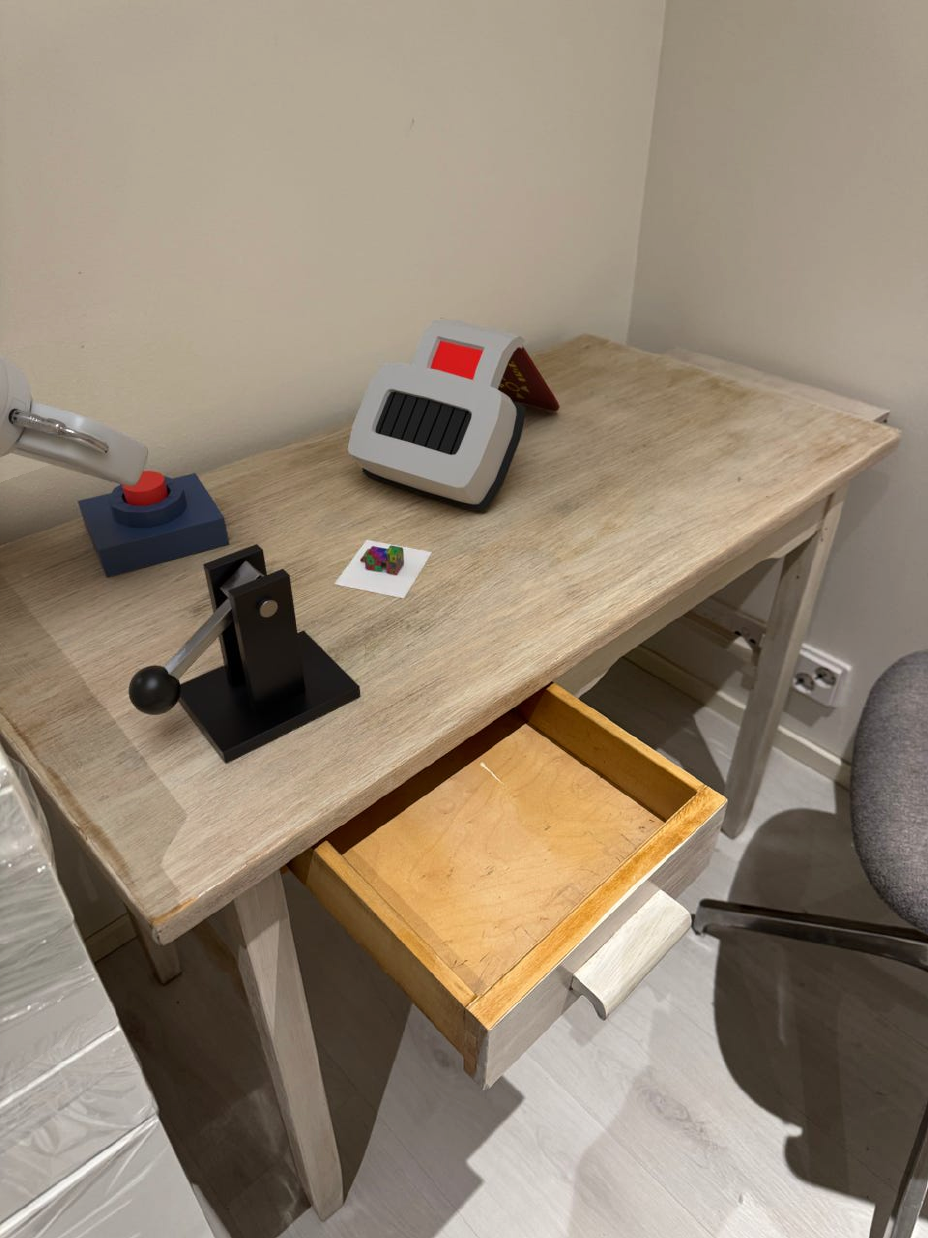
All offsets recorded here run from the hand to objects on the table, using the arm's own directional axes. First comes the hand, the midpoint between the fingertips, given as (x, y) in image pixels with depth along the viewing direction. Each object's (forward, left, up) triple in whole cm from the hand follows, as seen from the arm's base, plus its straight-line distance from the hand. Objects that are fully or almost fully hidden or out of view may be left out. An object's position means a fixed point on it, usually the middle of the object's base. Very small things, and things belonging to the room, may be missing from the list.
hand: (94, 462), depth 80 cm
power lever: (+3, -25, -5) cm, 25 cm away
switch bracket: (+6, -24, -11) cm, 28 cm away
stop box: (+4, +4, -11) cm, 13 cm away
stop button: (+4, +4, -7) cm, 9 cm away
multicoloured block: (+22, -12, -11) cm, 28 cm away
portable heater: (+41, +4, -11) cm, 43 cm away
